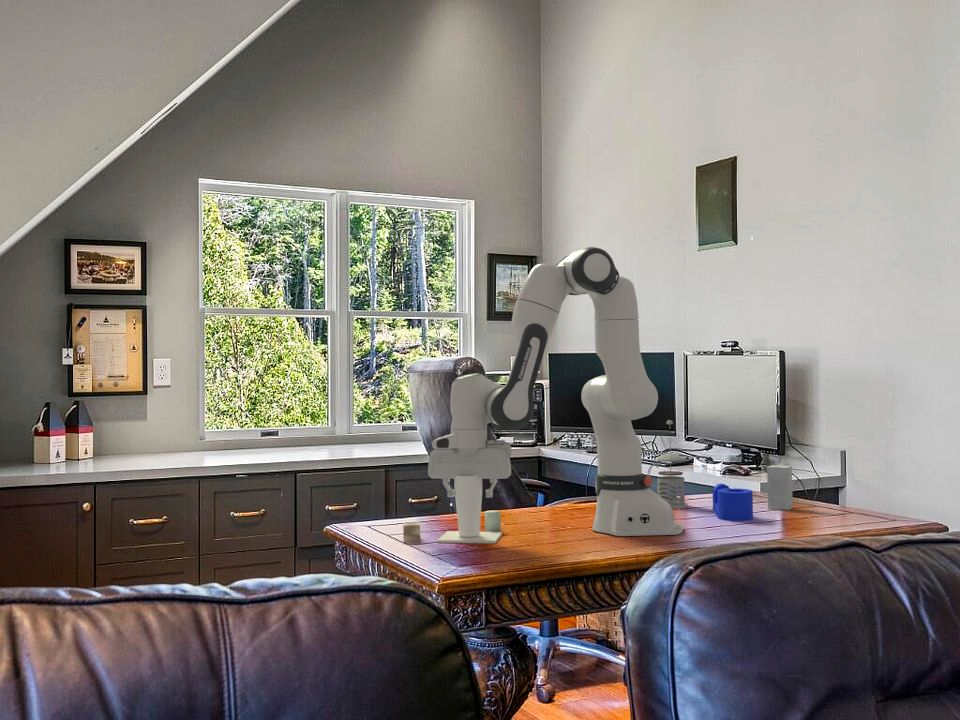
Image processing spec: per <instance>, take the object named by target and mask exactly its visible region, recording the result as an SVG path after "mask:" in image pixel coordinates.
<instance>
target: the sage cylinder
mask: <svg viewBox="0 0 960 720" xmlns="http://www.w3.org/2000/svg"><path fill="white" fill-rule="evenodd" d="M501 512H502V511H501V510H486V511H484V532H485V531H486V532H500V531H501V532H502V519H501V517H502V516H501V515H502V514H501Z"/></svg>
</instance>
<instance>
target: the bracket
mask: <svg viewBox="0 0 960 720" xmlns="http://www.w3.org/2000/svg"><path fill="white" fill-rule="evenodd" d="M753 496H754V495H753V490H752V489H747V488H731V487H729V486H728V485H726V484H725V483H717V484H715V485H714V487H713V488H712V512H714V514H715V516H716V517H717V519H719V520H720V521H725V522H749V521H753V519H754V505H753V504H754V498H753Z"/></svg>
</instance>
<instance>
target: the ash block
mask: <svg viewBox="0 0 960 720" xmlns="http://www.w3.org/2000/svg"><path fill="white" fill-rule="evenodd" d="M402 528H403V531H402V533H403V534H402V537H403V538H402V539H404V540H403V543H406V542H407V543H409V542H410V541H416V542H421V522H417V521H416V522H403V523H402ZM410 543H411V542H410Z"/></svg>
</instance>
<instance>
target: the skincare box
mask: <svg viewBox="0 0 960 720" xmlns="http://www.w3.org/2000/svg"><path fill="white" fill-rule="evenodd" d="M792 470H793V469H792V466H791V465H773V464H771V465H769V466H767V467H766V476H767V477H766V478H767V479H766V480H767V509H768V510H769V509H770V510H785V511H789V510H791V509H793V508H794V507H793V505H794V504H793V503H794V502H793V500H794V499H793V498H794V497H793V474H792Z"/></svg>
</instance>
